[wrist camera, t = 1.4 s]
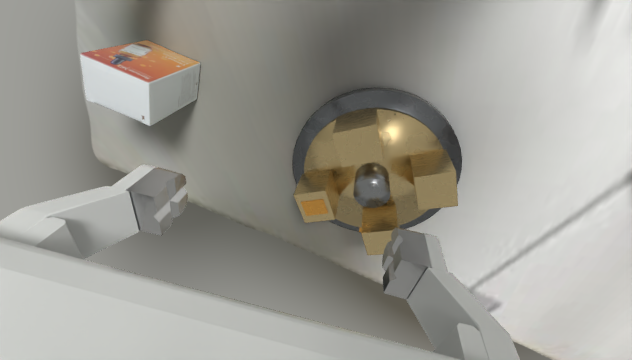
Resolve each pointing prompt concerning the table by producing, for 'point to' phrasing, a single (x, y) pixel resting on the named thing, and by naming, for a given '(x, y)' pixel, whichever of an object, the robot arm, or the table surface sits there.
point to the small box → (140, 80)
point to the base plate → (380, 100)
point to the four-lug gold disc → (375, 174)
